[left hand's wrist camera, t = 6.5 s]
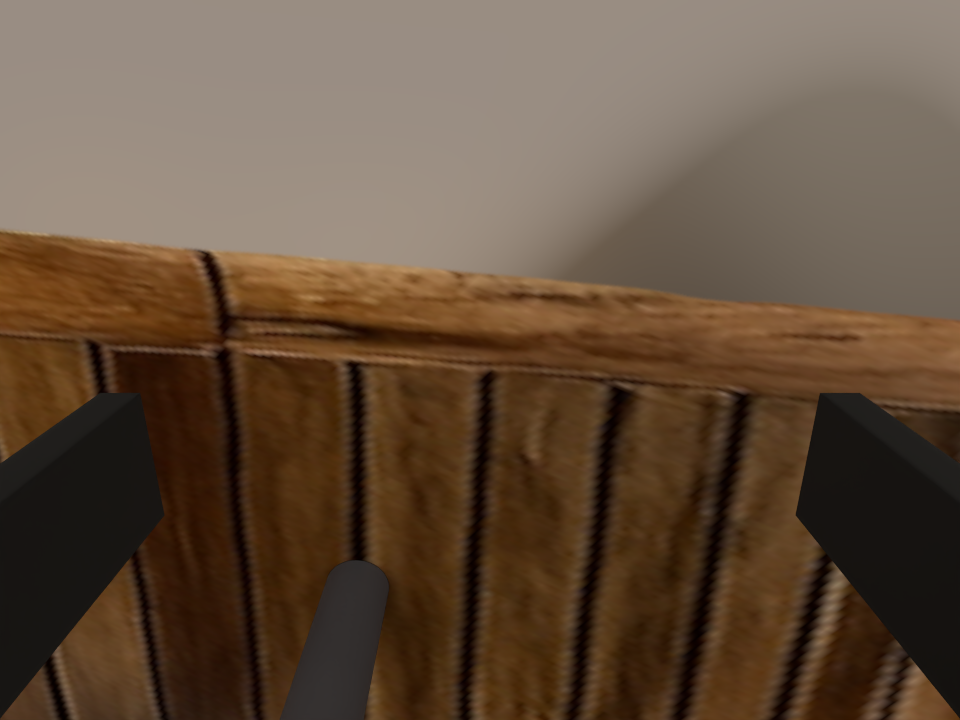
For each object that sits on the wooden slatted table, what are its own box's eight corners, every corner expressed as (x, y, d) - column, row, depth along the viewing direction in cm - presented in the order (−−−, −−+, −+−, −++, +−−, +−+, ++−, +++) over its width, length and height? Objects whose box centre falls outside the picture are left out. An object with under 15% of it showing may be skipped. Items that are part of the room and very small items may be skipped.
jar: (371, 619, 49) (321, 848, 34) (316, 594, 48) (238, 817, 33) (400, 576, 48) (361, 794, 32) (343, 550, 47) (276, 760, 31)
